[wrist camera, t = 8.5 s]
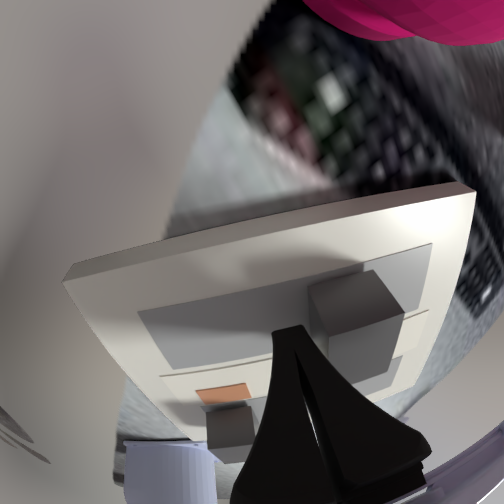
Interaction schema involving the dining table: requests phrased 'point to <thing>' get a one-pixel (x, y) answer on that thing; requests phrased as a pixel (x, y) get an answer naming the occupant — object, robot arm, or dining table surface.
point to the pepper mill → (416, 19)
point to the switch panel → (269, 295)
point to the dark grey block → (231, 433)
